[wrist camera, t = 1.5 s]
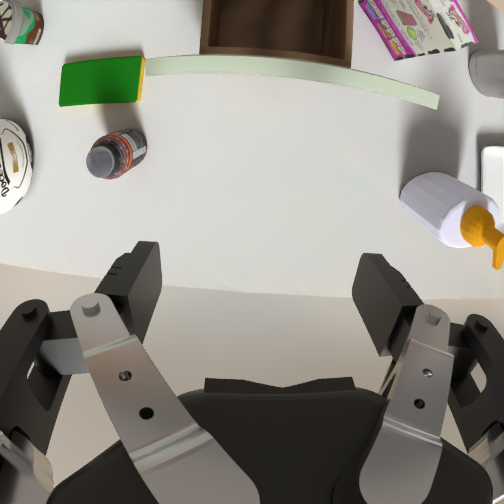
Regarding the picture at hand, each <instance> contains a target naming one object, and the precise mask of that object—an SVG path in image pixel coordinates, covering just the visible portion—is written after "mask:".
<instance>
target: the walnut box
mask: <svg viewBox="0 0 504 504" xmlns="http://www.w3.org/2000/svg"><path fill="white" fill-rule="evenodd" d="M353 10H354V0H204V5H203V15H202V26H201V38H200V51H199V54H200V55H205V54H222V55H251V56H266V57H277V58H287V59H295V60H303V61H310V62H317V63H323V64H329V65H334V66H340V67H345V68H351V57H352V39H353Z"/></svg>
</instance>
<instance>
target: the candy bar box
mask: <svg viewBox="0 0 504 504" xmlns="http://www.w3.org/2000/svg"><path fill="white" fill-rule="evenodd" d="M359 5H360V6H361V8H362V9H363V11H364V12H365V13H366V15H367V16H368V18H369V19H370V21H371V22H372V24H373V25H374V27H375V28H376V30H377V31H378V33H379V35H380V36H381V38H382V40H383V41H384V43H385V45H386V46H387V48H388V50H389V52H390V53H391V55H392V57H393V59H394V60H395V61H396V60H402V59H407V58H412V57H417V56H422V55H429V54H436V53H441V52H450V51H456V50H459V49H461V48H464V47H466V46H469V45H472V44H475V43H477V42H478V40H477V38H476V36H475V34H474V32H473V30H472V28H471V26H470V24H469V22H468V20H467V18H466V16H465V14H464V13H463V11H462V9H461V7H460V6H459V4H458V2H457V0H362V1H360V2H359Z"/></svg>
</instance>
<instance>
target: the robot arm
mask: <svg viewBox="0 0 504 504" xmlns="http://www.w3.org/2000/svg"><path fill="white" fill-rule="evenodd" d="M469 71H470V75H471V79H472V81H473V83H474V85H475V87H476V88H477V90H478V91H479V92H480V93H482V94H483V95H485V96H488V97H495V98H501V99H504V50H481V51H475V52H474V53H473V54H472V55H471V57H470V61H469ZM161 288H162V272H161V261H160V249H159V244H158V242H150V241H139V242H138V243H137V244H136V246H135V247H134V249H133V251H132V252H131V253H125V254H123V255H122V256H120V257H119V258H117V259H116V260H115V262H114V263H113V265H112V266H111V268H110V269H109V271H108V272H107V275H105V277H104V278H103V280H102V281H101V283H100V284H99V286H98V288H97V289H96V291H95V292H94V293H91V294H87V295H84V296H81V297H79V298H78V299H77V300H75V301H74V302H73V304H72V305H71V308H70V310H68V311H58V312H50V311H49V308H48V305H47V304H46V302H44V301H42V300H39V299H33V300H29V301H26V302H23V303H22V304H20V305H19V306H18V307H17V308H16V309H15V310H14V311H13V313H12V314H11V315H10V317H9V318H8V320H7V321H6V323H5V324H4V326H3V327H2V329H1V330H0V504H497V503H499V502H500V501H502V500H503V499H504V340H503V338H502V337H501V335H500V334H499V333H498V331H497V330H496V328H495V327H494V326H493V324H492V323H491V322H490V321H489V320H488V319H486V318H485V317H483V316H481V315H477V314H471V315H469V316H468V317H467V319H466V321H465V323H464V325H461V324H455V323H451V322H450V319H449V317H448V316H447V314H446V313H445V312H444V311H442V310H441V309H439V308H437V307H435V306H433V305H427V304H424V303H423V302H422V300H421V299H420V298H419V296H418V295H417V294H416V292H415V291H414V290H413V288H411V286H410V284H409V283H408V282H406V279H405V278H404V276H403V275H402V274H401V273H400V272H399V271H398V270H396V269H395V268H393V267H392V266H390V264H389V263H388V262H387V261H386V259H385V258H384V257H383V255H382V254H374V253H363V254H362V256H361V258H360V261H359V265H358V269H357V272H356V276H355V280H354V283H353V287H352V297H353V301H354V303H355V305H356V307H357V309H358V311H359V313H360V315H361V317H362V319H363V321H364V324H365V326H366V328H367V330H368V332H369V334H370V336H371V338H372V341H373V343H374V345H375V347H376V350H377V352H378V354H379V356H380V357H381V356H392V357H393V359H392V361H391V363H390V364H389V367H388V369H387V372H386V374H385V377H384V379H383V382H382V384H381V386H380V389H379V391H378V393H375V392H373V391H370V390H367V389H362V388H357V387H355V385H354V382H353V379H352V377H343V378H327V379H317V380H313V381H309V382H306V383H302V384H297V385H293V386H289V387H284V388H281V387H275V386H269V385H265V384H260V383H255V382H251V381H246V380H236V379H214V378H205V386H204V389H199V390H194V391H190V392H187V393H184V394H181V395H179V396H176V395H175V394H174V392H173V391H172V390H171V388H170V387H169V385H168V384H167V382H166V381H165V379H164V378H163V376H162V375H161V374H160V372H159V371H158V369H157V368H156V366H155V365H154V363H153V361H152V360H151V358H150V357H149V355H148V354H147V352H146V351H145V349H144V347H143V346H142V344H143V341H144V338H145V335H146V332H147V329H148V326H149V323H150V321H151V318H152V315H153V312H154V309H155V306H156V303H157V301H158V298H159V295H160V292H161ZM33 362H34V367H33V369H32V371H31V373H30V375H29V377H28V379H27V374H28V371H29V369H30V367H31V365H32V363H33ZM477 363H479V364H480V366H481V368H482V369H483V371H484V373H485V375H486V379H487V382H486V386H485V388H484V390H483V391H482V392H481V393H480V391H479V389H478V387H477V385H476V383H475V381H474V379H473V378H472V376H471V374H470V373H471V372H472V370H473V369H474V367H475V366H476V365H477ZM82 373H90V374H91V377H92V379H93V381H94V384H95V386H96V389H97V391H98V393H99V396H100V398H101V400H102V402H103V405H104V407H105V409H106V411H107V413H108V415H109V417H110V420H111V421H112V424H113V425H114V428H115V430H116V432H117V433H118V435H119V437H120V440H118V441H117V442H116V443H114V444H113V445H112V446H110V447H109V448H108V449H106V450H105V451H104V452H102V453H101V454H100V455H98V456H97V457H96V458H94V459H93V460H92V461H90V462H89V463H88V464H86V465H85V466H83V467H82V468H81V469H79V470H78V471H76V472H75V473H74V474H72V475H71V476H69V477H68V478H66V479H65V480H63V481H62V482H61V483H59V484H58V485H57V486H56V487H55V488H54V487H53V470H52V466H51V463H50V462H49V460H48V459H47V457H46V453H47V449H48V445H49V442H50V438H51V435H52V432H53V428H54V425H55V422H56V419H57V415H58V413H59V410H60V407H61V403H62V401H63V398H64V395H65V392H66V389H67V387H68V384H69V381H70V379H71V376H72V374H82ZM447 403H448V405H449V407H450V409H451V412H452V414H453V417H454V419H455V422H456V424H457V426H458V429H459V432H460V434H461V437H462V440H463V442H464V445H465V448H466V450H467V453H468V455H466V454H465V453H463V452H462V451H460V450H459V449H457V448H456V447H454V446H453V445H451V444H450V443H449V442H447V441H446V440H444V439H443V438H441V437H440V434H441V429H442V425H443V421H444V416H445V411H446V406H447Z"/></svg>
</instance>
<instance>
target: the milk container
mask: <svg viewBox="0 0 504 504" xmlns="http://www.w3.org/2000/svg"><path fill="white" fill-rule="evenodd" d="M32 173H33V156H32V151H31V147H30V143H29V140H28V138H27V136H26V135H25V133H24V131H23V130H22V129H21V128H20V127H19V126H18V125H17V124H16V123H14V122H12V121H10V120H6V119H0V214H3V213H5V212H7V211H9V210H10V209H12V208H13V207H14V206H15V205H16V204H18V203H19V201H20V200H21V199H22V198H23V197H24V195H25V194H26V192H27V190H28V188H29V185H30V182H31V178H32Z"/></svg>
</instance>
